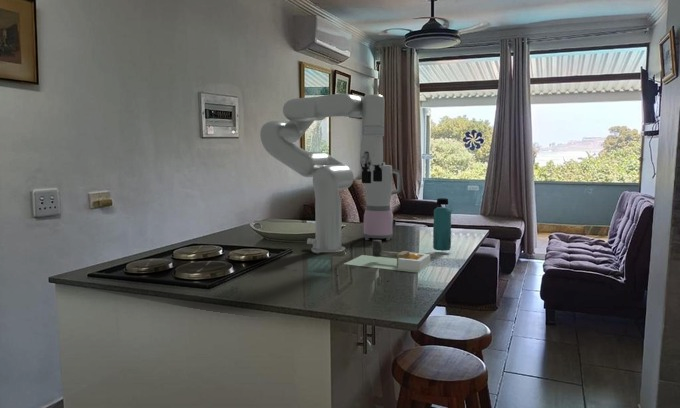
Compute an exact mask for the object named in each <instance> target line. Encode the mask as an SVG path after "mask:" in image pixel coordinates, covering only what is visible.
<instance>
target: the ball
mask: <svg viewBox="0 0 680 408" xmlns="http://www.w3.org/2000/svg"><path fill="white" fill-rule="evenodd" d="M412 253H413V254H410V255H409V256H408V259H414V260H417V259H419V258H420V256H419V255H418V254H415V253H416V252H412Z"/></svg>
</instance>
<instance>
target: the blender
mask: <svg viewBox="0 0 680 408" xmlns="http://www.w3.org/2000/svg"><path fill="white" fill-rule="evenodd" d="M376 166H377V165H376ZM382 167H383V170H382V181H381V182H377V181H373V170H374V166H373V165H372V166H371V169H370V171H371V183H364V192H365V193H364V194H365V198H366V199H365V200H366V209H365V211H364V213H363V237H364V240H365V241H369V240H370V238H371V239H385V241H386V242H389V241H391V238H392V237H393V227H395V226H396V219H394V218H393V217H394V213H393V211H392V210H391V205H390V204H391V199H392V195H397V194H400V193H401V191H402V172H401V171H400V170H399V169H395V168H393V166H392V165H390V164H386V162H384V161H383V166H382ZM393 174H395V175H396V177H397V181H396V182H397V183H396V185H397V186H396V189H393ZM388 240H389V241H388Z"/></svg>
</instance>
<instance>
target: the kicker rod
mask: <svg viewBox="0 0 680 408" xmlns="http://www.w3.org/2000/svg"><path fill="white" fill-rule="evenodd" d="M371 244H372V246H371V247H372V250H371V251H372V252H371V256H374V257H387V258H396V259H397V266H398V259H399V258H404V259H408V256H409V252H410V250H402V251H400V252H398V251H397V252H396V251H387V250H382V249H383V248H382V244H383V243H382V239H372V243H371Z"/></svg>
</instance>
